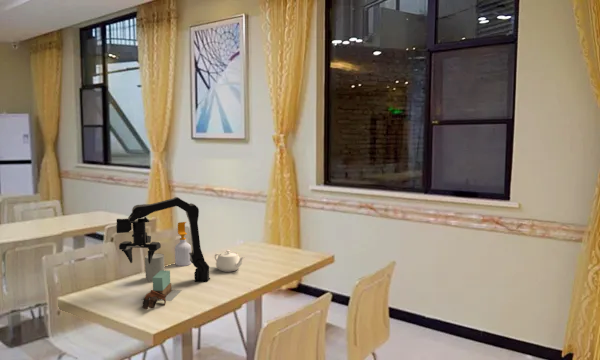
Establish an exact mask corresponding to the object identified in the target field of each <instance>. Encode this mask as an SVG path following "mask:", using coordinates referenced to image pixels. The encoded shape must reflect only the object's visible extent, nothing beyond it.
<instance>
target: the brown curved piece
mask: <svg viewBox="0 0 600 360" xmlns="http://www.w3.org/2000/svg"><path fill="white" fill-rule="evenodd" d="M144 297H145V298H144ZM144 297H143V298H144V300H142V305H141V308H142V309H145V310H149V309H152V310H153V309H155V307H156V305H157V302H158V301H157V297H158V298H159V299H162V300H164V301H163V302H164V303H163V306H165V305H166V303H167V301H166V299H165V298H166V295H164V294H162V293H160V292H158V291H155V290H153V289H150V292H148V293H146V295H145V296H144ZM149 298H150V300H149Z"/></svg>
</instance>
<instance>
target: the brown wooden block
mask: <svg viewBox="0 0 600 360" xmlns="http://www.w3.org/2000/svg"><path fill="white" fill-rule="evenodd" d="M158 292H160V293H162V294H164V295H166V296H167V287H166V288H165V289H164V290H163V291H158ZM157 299H159V298H158V297H157Z"/></svg>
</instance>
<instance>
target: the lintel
mask: <svg viewBox="0 0 600 360" xmlns="http://www.w3.org/2000/svg"><path fill="white" fill-rule="evenodd" d="M170 283H171V270H169V269H168V270H165V269H164V270H160V271H159V272H158V273H157V274H156V275H155V276H154V277H153V281H152V290H155V291H163V290H164V289H165V288H166V287H167V286H168V285H169V284H170Z"/></svg>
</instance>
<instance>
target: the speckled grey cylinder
mask: <svg viewBox="0 0 600 360" xmlns="http://www.w3.org/2000/svg"><path fill="white" fill-rule="evenodd" d="M144 265H145V266H144V270H145V272H144V273H145V281H147V282H153V277H154V276H155V275H156V274H157V273H158V272H159V271H160V270H165V254H163V253H158V252H157V253H154V254H153V257H152V260H151V263H150V264H149V262H148V254H146V255H144Z"/></svg>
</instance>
